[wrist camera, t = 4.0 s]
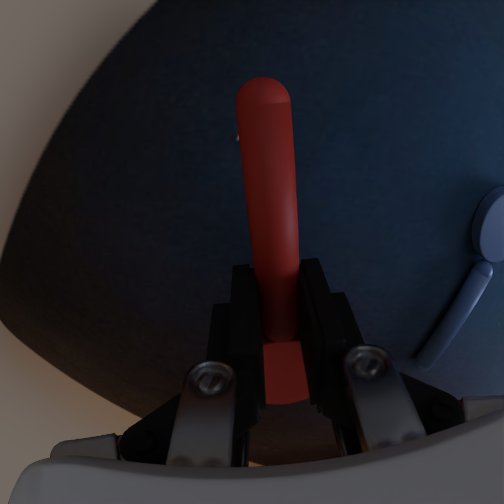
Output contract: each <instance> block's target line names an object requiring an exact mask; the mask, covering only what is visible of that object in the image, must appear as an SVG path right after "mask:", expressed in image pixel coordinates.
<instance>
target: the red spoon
mask: <svg viewBox="0 0 504 504" xmlns="http://www.w3.org/2000/svg"><path fill="white" fill-rule="evenodd" d="M235 106H236V115H237V124H238V132H239V141H240V150H241V159H242V168H243V177H244V185H245V194H246V203H247V212H248V221H249V230H250V239H251V247H252V256H253V265H254V274H255V277H256V286H257V295H258V303H259V312H260V321H261V330H262V335H263V353H264V371H265V390H266V404H288V403H294V402H298V401H301V400H304V399H307V398H309V391H308V385H307V379H306V373H305V367H304V362H303V356H302V350H301V345H300V339H299V333H298V329H299V326H300V300H299V241H298V214H297V193H296V174H295V157H294V142H293V128H292V115H291V102H290V97H289V94H288V92H287V90H286V89H285V87H284V86H283V85H282V84H281V83H279V82H278V81H276V80H274V79H271V78H267V77H259V78H254V79H251V80H249V81H248V82H246V83H245V84H244V85H243V86H242V87H241V88H240V89H239V91H238V93H237V95H236V100H235Z"/></svg>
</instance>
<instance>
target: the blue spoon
mask: <svg viewBox="0 0 504 504" xmlns="http://www.w3.org/2000/svg"><path fill="white" fill-rule="evenodd" d="M471 237H472V243H473V246H474V248H475V250H476V251H477V252H478V253H479V254H480V255H481V256H482V257H483V258H484V259H485V260H479V261H477V262H476V263H475V264H474V265H473V267H472V269H471V271H470V273H469V274H468V276H467V278H466V280H465V282H464V284H463V285H462V287H461V289H460V291H459V292H458V294H457V296H456V297H455V299H454V301H453V302H452V304H451V306H450V307H449V309H448V311H447V312H446V314H445V315H444V317H443V318H442V320H441V322H440V323H439V325H438V326H437V328H436V329H435V331H434V332H433V334H432V335H431V337H430V338H429V340H428V341H427V342H426V344H425V345H424V347H423V348H422V349H421V351H420V352H419V354H418V355H417V357H416V359H415V365H416V367H417V369H418V370H420V371H427V370H429V369H431V367H432V366H433V365H434V364H435V362H436V361H437V360H438V358H439V357H440V356H441V355H442V353H443V352H444V350H445V349H446V348H447V346H448V345H449V344H450V342H451V341H452V339H453V338H454V337H455V335H456V334H457V332H458V331H459V329H460V328H461V326H462V325H463V323H464V322H465V320H466V319H467V317H468V316H469V314H470V312H471V311H472V309H473V308H474V306H475V304H476V303H477V301H478V300H479V298H480V296H481V295H482V293H483V291H484V289H485V288H486V286H487V284H488V282H489V281H490V279H491V277H492V273H493V270H492V266H491V264H490V263H489V262H494V263H496V262H500V261H502V260H504V186H502V187H497V188H495V189H493V190H492V191H490V192H489V193H488V194H487V195H486V196H485V197H484V198H483V200H482V201H481V203H480V205H479V206H478V208H477V210H476V213H475V215H474V219H473V223H472V230H471ZM486 260H487V261H486ZM488 261H489V262H488Z"/></svg>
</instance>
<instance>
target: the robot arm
mask: <svg viewBox="0 0 504 504" xmlns="http://www.w3.org/2000/svg"><path fill="white" fill-rule="evenodd" d="M299 300H300V326H299V329H298V333H299V339H300V345H301V350H302V356H303V362H304V367H305V373H306V379H307V385H308V391H309V397H310V403H311V405H314V404H317V409H318V413H321V412H322V413H323V415H324V416H326V417H328V418H329V419H331V420H332V426H333V430H334V434H335V438H336V443H337V447H338V451H339V455H340V457H338V458H333V459H326V460H320V461H312V462H305V463H296V464H286V465H274V466H259V467H248V464H249V440H250V431H249V430H250V429H251V428H252V427H253V426H254V425H255V424H256V423H258V422H259V419H260V410H265V409H266V390H265V371H264V353H263V335H262V330H261V321H260V312H259V303H258V295H257V286H256V277H255V274H254V268H249V264H247V265H236V266H233V273H232V287H231V302H230V303H225V304H214V305H213V310H212V317H211V325H210V332H209V340H208V348H207V356H206V360H204V361H202V362H199V363H197V364H195V365H194V366H192V367H191V368H190V369H189V370H188V372H187V373H186V375H185V378H184V381H183V386H182V390H181V393H179V394H178V395H176V396H175V397H173V398H172V399H171V400H169V401H168V402H166V403H165V404H163V405H162V406H161V407H159V408H158V409H156V410H155V411H153V412H152V413H150V414H149V415H147V416H146V417H144V418H143V419H141V420H140V421H138V422H137V423H136V424H134V425H132V426H131V427H129V428H128V429H127V430H126V431H125V432H124V433H123V435H119V436H117V435H116V434H115V433H113V434H107V435H101V436H96V437H90V438H83V439H76V440H67V441H63V442H60V443H58V444H57V445H56V446H54V448H53V449H52V451H51V454H50V458H46V459H42V460H39V461H36V462H34V463H32V464H30V465H29V466H27V468H25V469H24V470H23V472H22V473H21V475H20V477H19V478H18V480H17V482H16V484H15V486H14V488H13V491H12V493H11V496H10V499H9V502H8V504H504V395H502V396H479V397H462V399H461V400H457V399H456V398H455V397H454V396H452V395H450V394H449V393H446V392H444V391H442V390H439V389H437V388H435V387H432V386H430V385H428V384H425V383H423V382H421V381H419V380H416V379H414V378H412V377H409V376H407V375H405V374H403V373H401V372H399V371H398V369H397V367H396V365H395V363H394V361H393V359H392V357H391V355H390V354H389V353H388V352H387V351H386V350H385V349H383V348H382V347H379V346H377V345H373V344H365V343H364V341H363V338H362V335H361V333H360V330H359V328H358V325H357V323H356V320H355V318H354V315H353V313H352V310H351V308H350V305H349V303H348V300H347V298H346V295H345V294H344V293H343V292H338V293H331V292H330V290H329V287H328V284H327V281H326V279H325V276H324V273H323V271H322V268H321V265H320V262H319V260H318V258H311V259H302V262H301V264H299Z"/></svg>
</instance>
